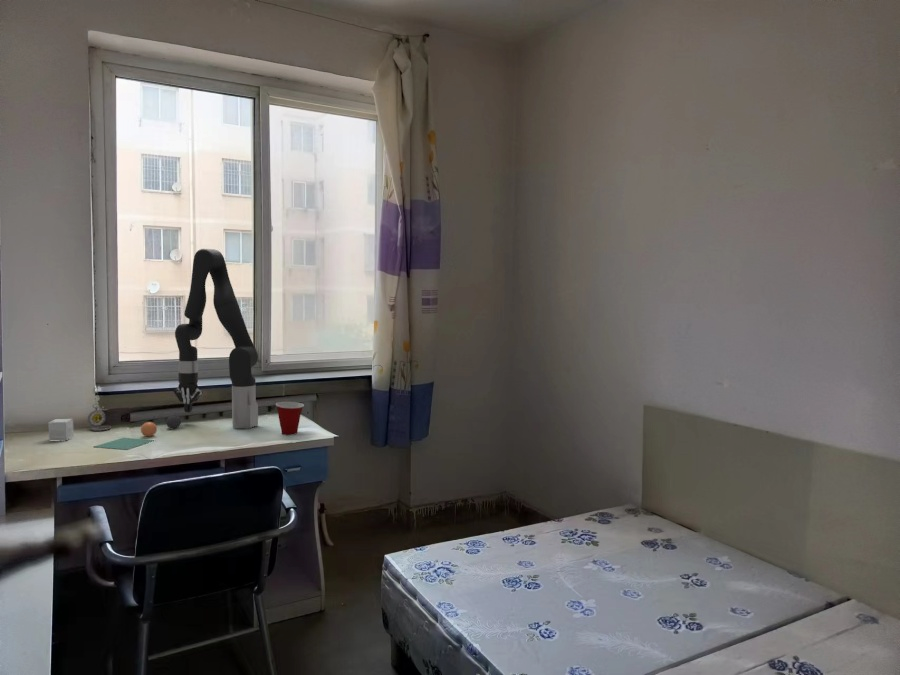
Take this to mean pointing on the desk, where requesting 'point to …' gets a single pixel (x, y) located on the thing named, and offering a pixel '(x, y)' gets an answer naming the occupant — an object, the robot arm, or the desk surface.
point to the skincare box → (61, 429)
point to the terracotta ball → (148, 429)
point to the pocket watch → (97, 419)
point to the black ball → (173, 421)
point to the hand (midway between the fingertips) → (188, 412)
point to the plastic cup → (289, 416)
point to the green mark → (124, 443)
